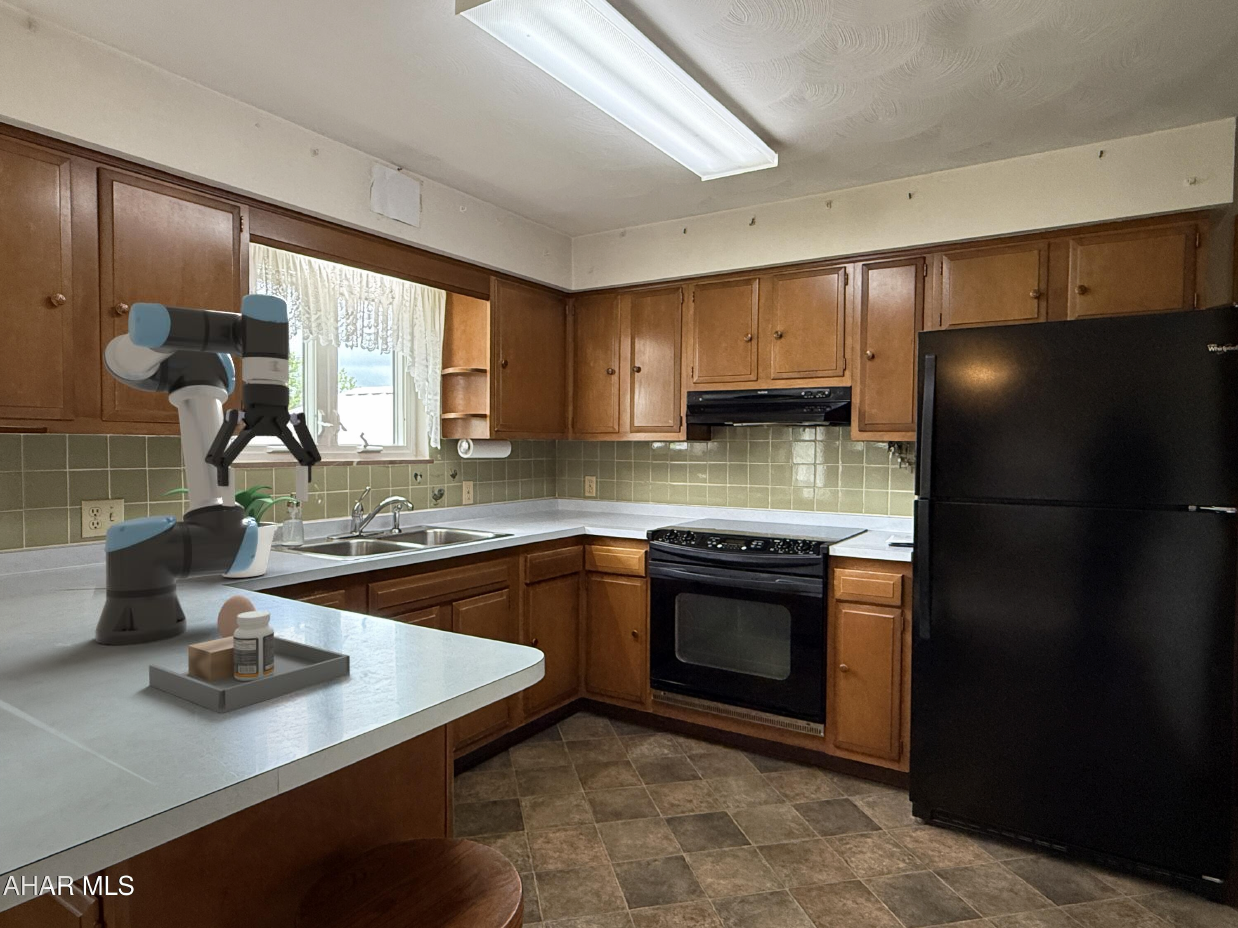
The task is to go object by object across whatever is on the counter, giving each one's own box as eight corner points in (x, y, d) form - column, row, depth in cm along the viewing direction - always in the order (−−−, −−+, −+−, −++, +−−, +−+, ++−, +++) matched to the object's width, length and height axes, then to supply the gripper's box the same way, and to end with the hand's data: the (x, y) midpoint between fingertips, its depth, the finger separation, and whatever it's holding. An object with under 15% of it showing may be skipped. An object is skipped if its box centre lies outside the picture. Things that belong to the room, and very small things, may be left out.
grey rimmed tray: (149, 684, 112) (149, 665, 112) (275, 653, 129) (275, 636, 129) (221, 713, 100) (220, 690, 100) (349, 674, 118) (349, 655, 117)
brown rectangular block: (188, 673, 116) (188, 645, 116) (249, 658, 124) (249, 632, 124) (211, 681, 112) (211, 652, 112) (273, 665, 120) (272, 638, 120)
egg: (210, 648, 132) (209, 598, 132) (229, 638, 139) (229, 591, 139) (246, 648, 132) (245, 599, 132) (264, 639, 139) (263, 591, 139)
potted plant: (160, 572, 211) (159, 484, 210) (290, 562, 230) (290, 482, 229) (163, 591, 184) (162, 490, 184) (310, 577, 204) (310, 487, 203)
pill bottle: (262, 668, 119) (261, 608, 118) (281, 675, 115) (281, 613, 115) (226, 677, 114) (226, 614, 114) (245, 684, 111) (245, 619, 110)
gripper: (204, 377, 116) (205, 509, 117) (340, 388, 137) (341, 500, 138) (181, 379, 121) (182, 506, 121) (316, 389, 141) (317, 498, 142)
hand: (266, 503), depth 129 cm, fingers open, 13 cm apart
